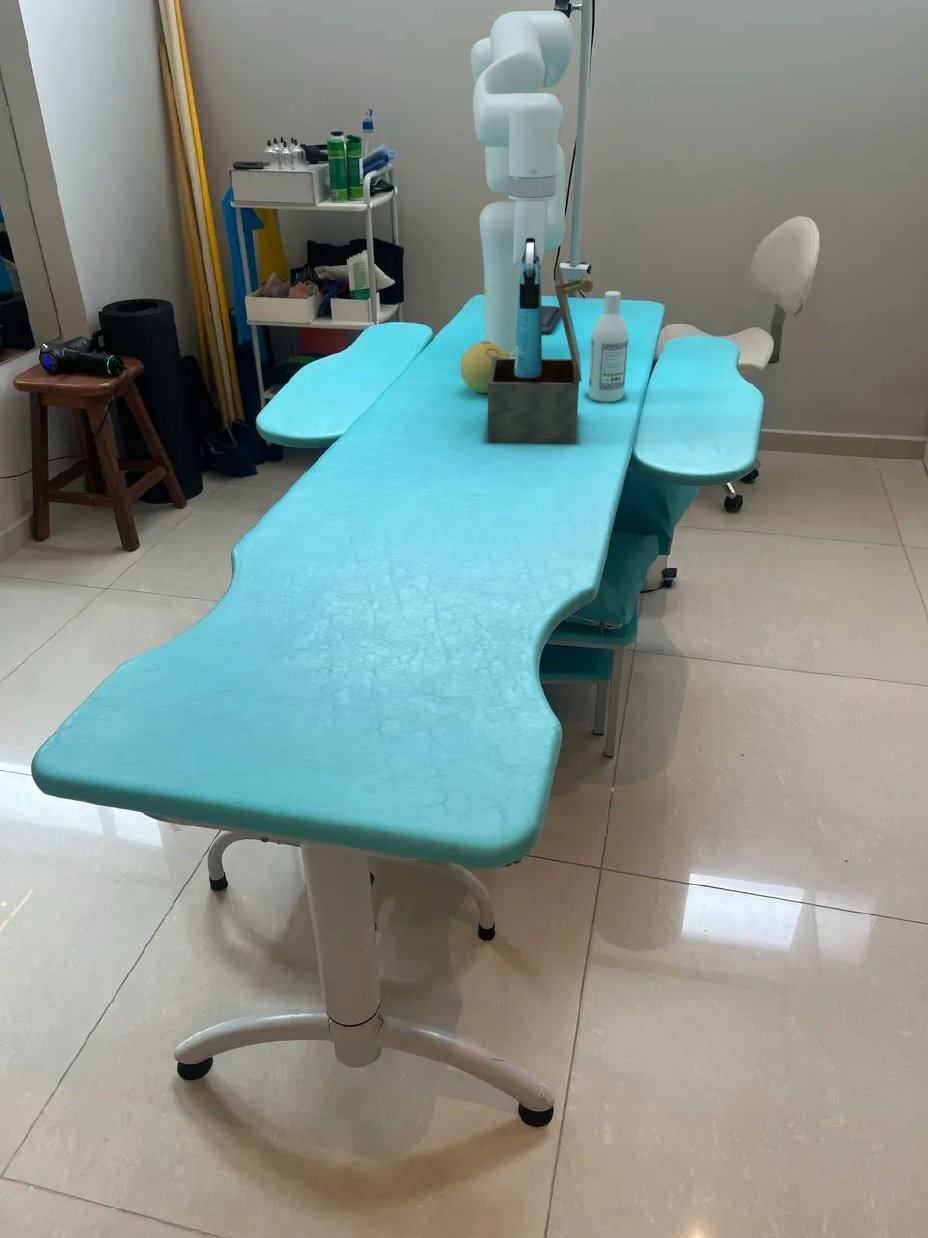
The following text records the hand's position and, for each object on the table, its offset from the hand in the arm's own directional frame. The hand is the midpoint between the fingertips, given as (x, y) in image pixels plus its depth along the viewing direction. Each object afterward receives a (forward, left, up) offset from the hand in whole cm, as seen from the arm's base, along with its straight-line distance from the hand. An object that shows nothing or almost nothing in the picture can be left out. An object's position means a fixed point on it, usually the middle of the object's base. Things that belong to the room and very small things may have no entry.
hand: (529, 301), depth 156 cm
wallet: (-69, -2, -23) cm, 73 cm away
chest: (0, +1, -23) cm, 23 cm away
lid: (0, +6, -4) cm, 7 cm away
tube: (0, 0, -13) cm, 13 cm away
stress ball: (-19, -9, -23) cm, 31 cm away
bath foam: (-17, +15, -23) cm, 32 cm away
